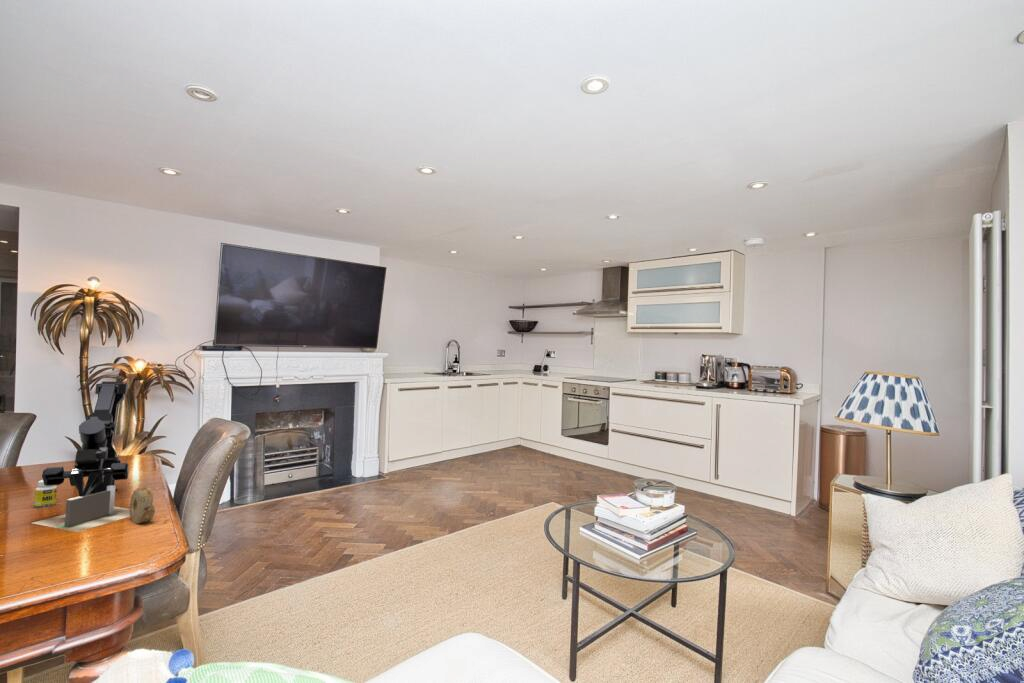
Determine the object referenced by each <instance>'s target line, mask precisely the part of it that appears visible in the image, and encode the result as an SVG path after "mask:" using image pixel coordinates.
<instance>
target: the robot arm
mask: <svg viewBox="0 0 1024 683" xmlns="http://www.w3.org/2000/svg"><path fill="white" fill-rule="evenodd" d="M128 390H129V385H128V384H126V383H125V381H109V380H108V381H107V380H105V381H101V383H96V384H95V391H94V394H95V395H97V400H96V402H95V407H94V410H93V412H92V413H89V415H87V416H86V419H85V421H82V423H80V424H79V426H78V433H79V436H80V441H81V443H82V445H81V448H80V449H77V450H76V453H75V458H74V459H75V461H74V466H73V467H74V468H75V469H74V468H73V469H70V470H66V471H65V469H64V466H53V467H46V468H45V469H44V470H43V471H42V474H41V477H42V480H43V482H44V485H46V486H52V485H56V486H60V485H62V484H63V483H64V481H65V479H69V484H70V486H71V487H75V488H76V490H77V492H78V496H80V497H81V496H85V495H89V494H93V493H98V492H102V491H106V490H107V486H109V485H115V481H122V480H128V478H129V472H130V468H129V464H128V463H127V462H122V460H120V457H119V456H118V453H117V451H116V449H115V447H114V437H115V431H116V430H117V427H118V426H117V425H116V424H117V422H116V421H117V416H118V408H119V406H120V405H121V404H122V403H123V402H124V401H125V397H126V395H128ZM84 478H87V480H86V484H85V480H84ZM117 491H118V489H117V488H115V492H117Z"/></svg>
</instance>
